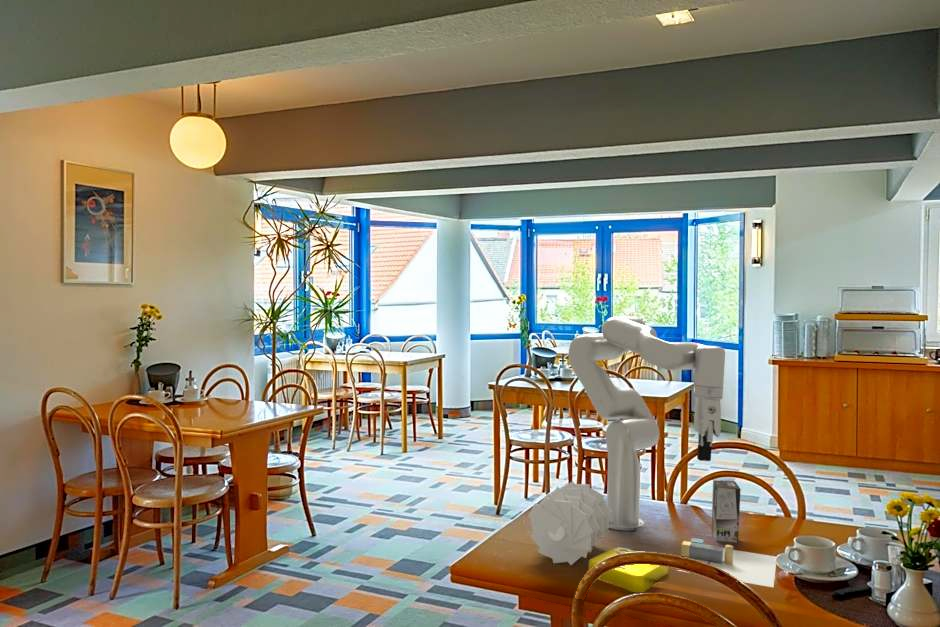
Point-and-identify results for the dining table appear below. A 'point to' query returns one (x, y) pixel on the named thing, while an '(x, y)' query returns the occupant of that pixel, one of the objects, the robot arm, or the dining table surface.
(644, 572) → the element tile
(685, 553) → the bar
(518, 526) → the dining table surface
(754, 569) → the latch board
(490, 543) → the dining table surface
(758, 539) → the dining table surface
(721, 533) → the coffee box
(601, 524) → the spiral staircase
